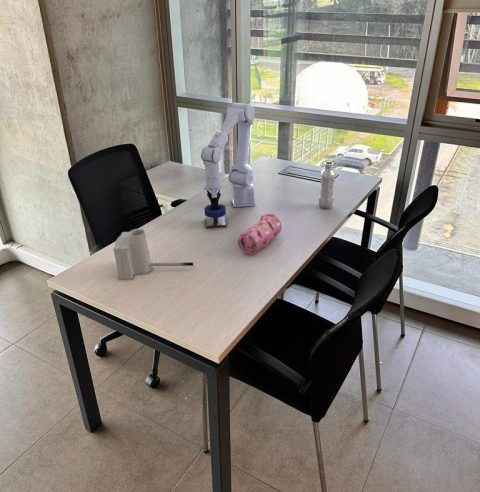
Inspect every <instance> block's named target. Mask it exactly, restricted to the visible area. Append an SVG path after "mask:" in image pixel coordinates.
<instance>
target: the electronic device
mask: <svg viewBox="0 0 480 492" xmlns="http://www.w3.org/2000/svg"><path fill="white" fill-rule="evenodd" d="M113 254H114V259H115V262H116V263H115V264H116V268H117V269H116V270H117V274H118V278H119V280H132V279H133V278H134V276H135V275H144V274H147V273H150V272H151V271H152V267H194V262H191V261H190V262H152V259H151V257H150V251H149V244H148V239H147V231H146V230H145V229H143V228H134V229H131V230H130V231H122V232H121V234H120V235H119V236H118V237H117V238H116V240H115V245H114V247H113Z"/></svg>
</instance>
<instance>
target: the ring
mask: <svg viewBox="0 0 480 492" xmlns="http://www.w3.org/2000/svg"><path fill="white" fill-rule="evenodd" d="M226 209H227V208H226V205H224V204H220V203H218V208H217V209H212V206H211V204H208V205H206V206H205V207H204V208H203V210H204V211H203V212H204V216H205V217H207V218H219V217H225V215H227V210H226ZM213 210H217V211H213Z"/></svg>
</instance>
